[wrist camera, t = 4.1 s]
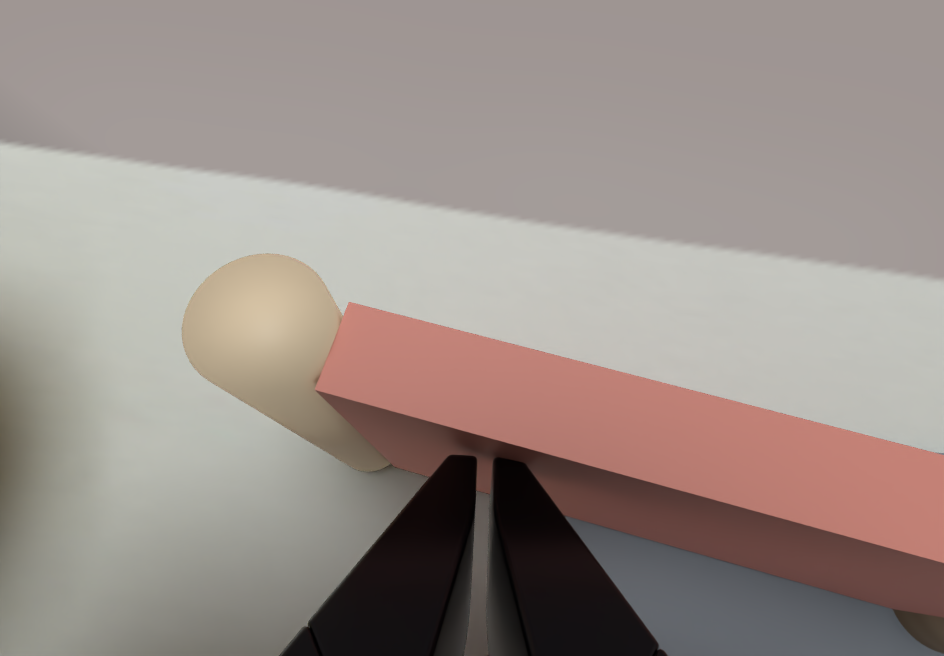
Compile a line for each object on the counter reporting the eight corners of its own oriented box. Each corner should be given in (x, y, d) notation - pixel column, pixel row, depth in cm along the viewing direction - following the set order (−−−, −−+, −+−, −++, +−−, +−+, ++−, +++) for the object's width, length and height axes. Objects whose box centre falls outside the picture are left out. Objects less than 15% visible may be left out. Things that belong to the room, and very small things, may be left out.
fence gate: (884, 540, 13) (1428, 543, 6) (884, 622, 12) (1500, 744, 5) (349, 394, 14) (221, 239, 7) (325, 460, 14) (154, 369, 6)
